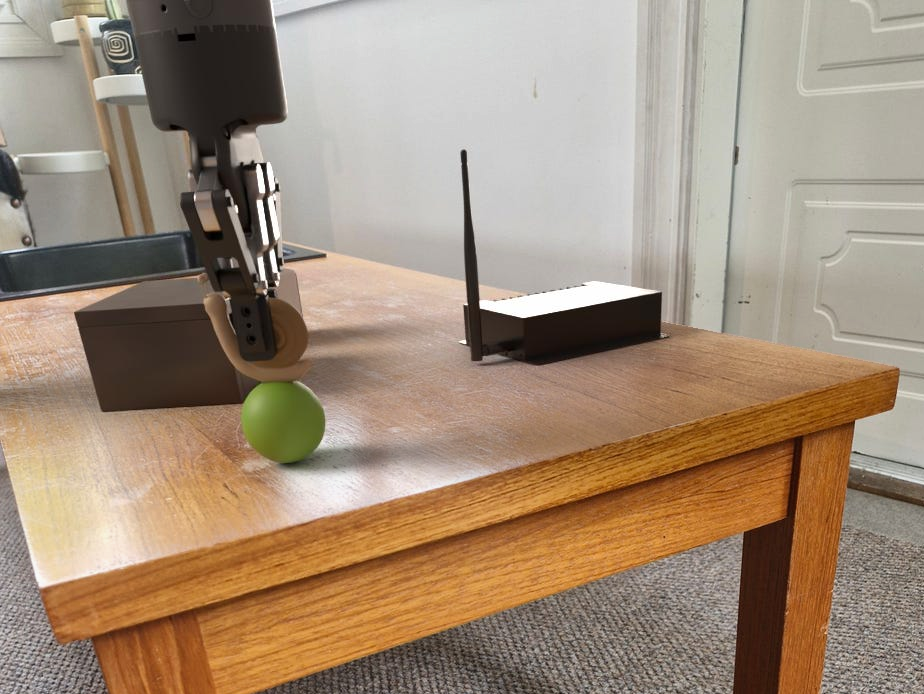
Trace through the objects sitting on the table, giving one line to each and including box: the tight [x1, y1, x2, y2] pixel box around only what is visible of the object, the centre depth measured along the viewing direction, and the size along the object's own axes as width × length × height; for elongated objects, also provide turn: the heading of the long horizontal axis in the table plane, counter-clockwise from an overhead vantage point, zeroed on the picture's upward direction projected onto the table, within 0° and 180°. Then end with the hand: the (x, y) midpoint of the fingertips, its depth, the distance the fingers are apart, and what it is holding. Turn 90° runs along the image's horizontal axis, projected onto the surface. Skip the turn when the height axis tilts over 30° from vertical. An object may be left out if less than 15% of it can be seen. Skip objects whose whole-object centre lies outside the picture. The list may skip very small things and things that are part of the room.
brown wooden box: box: [73, 277, 262, 412], centre depth 80 cm, size 12×16×8 cm
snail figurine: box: [196, 272, 327, 464], centre depth 57 cm, size 5×6×12 cm
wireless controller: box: [459, 148, 672, 366], centre depth 83 cm, size 20×14×17 cm
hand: (264, 354), depth 57 cm, fingers closed on snail figurine
